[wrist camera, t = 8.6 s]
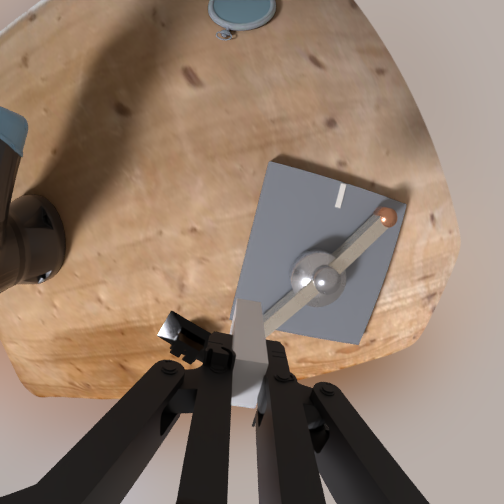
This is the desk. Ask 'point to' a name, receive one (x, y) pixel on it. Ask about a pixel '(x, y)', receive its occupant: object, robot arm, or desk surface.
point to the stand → (315, 237)
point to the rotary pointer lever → (325, 271)
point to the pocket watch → (240, 14)
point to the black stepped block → (184, 338)
